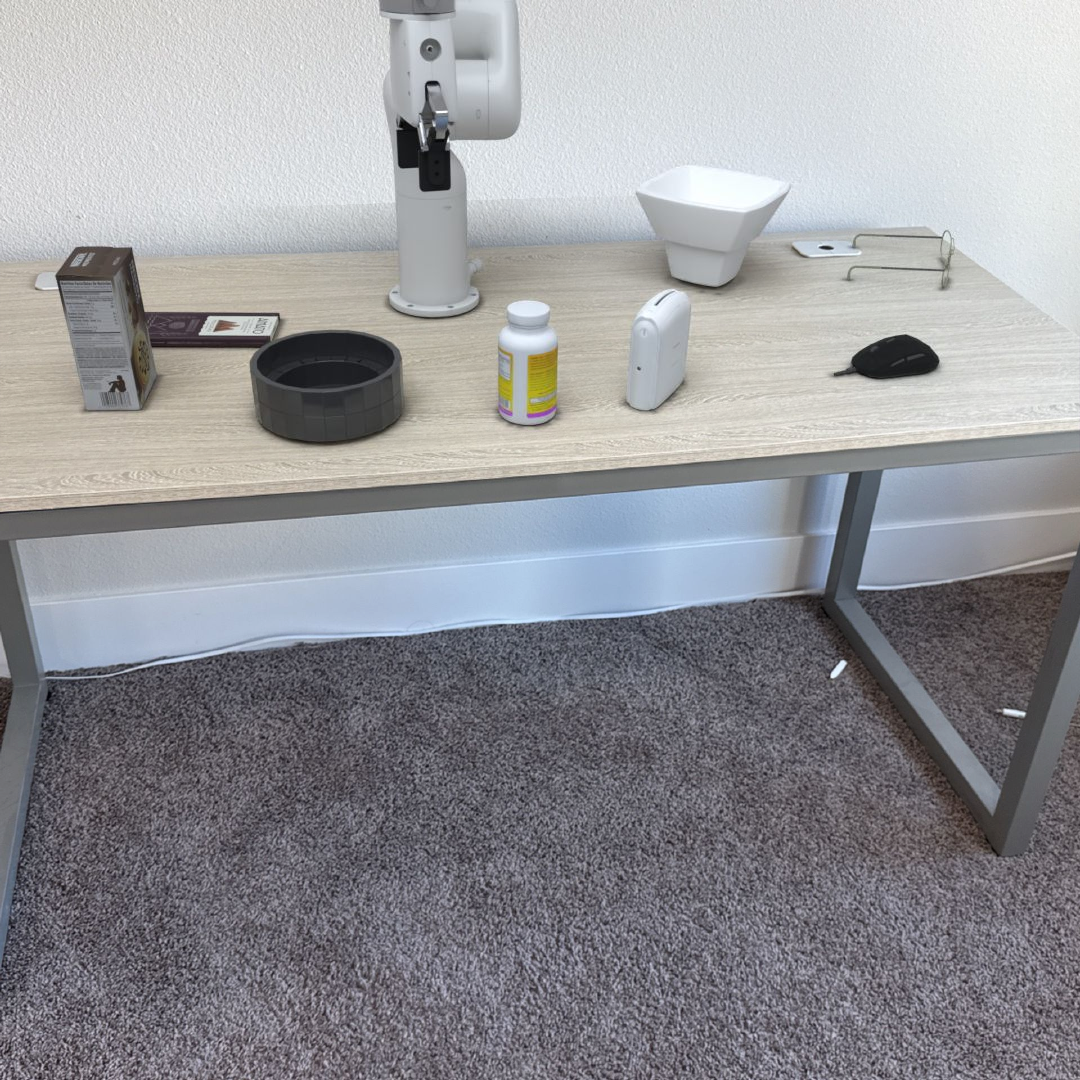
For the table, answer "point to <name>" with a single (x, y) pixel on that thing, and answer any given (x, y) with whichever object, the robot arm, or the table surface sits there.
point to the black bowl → (327, 385)
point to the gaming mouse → (894, 358)
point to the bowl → (709, 218)
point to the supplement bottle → (527, 364)
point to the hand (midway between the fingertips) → (423, 178)
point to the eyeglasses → (908, 268)
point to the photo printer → (658, 349)
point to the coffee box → (107, 327)
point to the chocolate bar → (211, 328)
